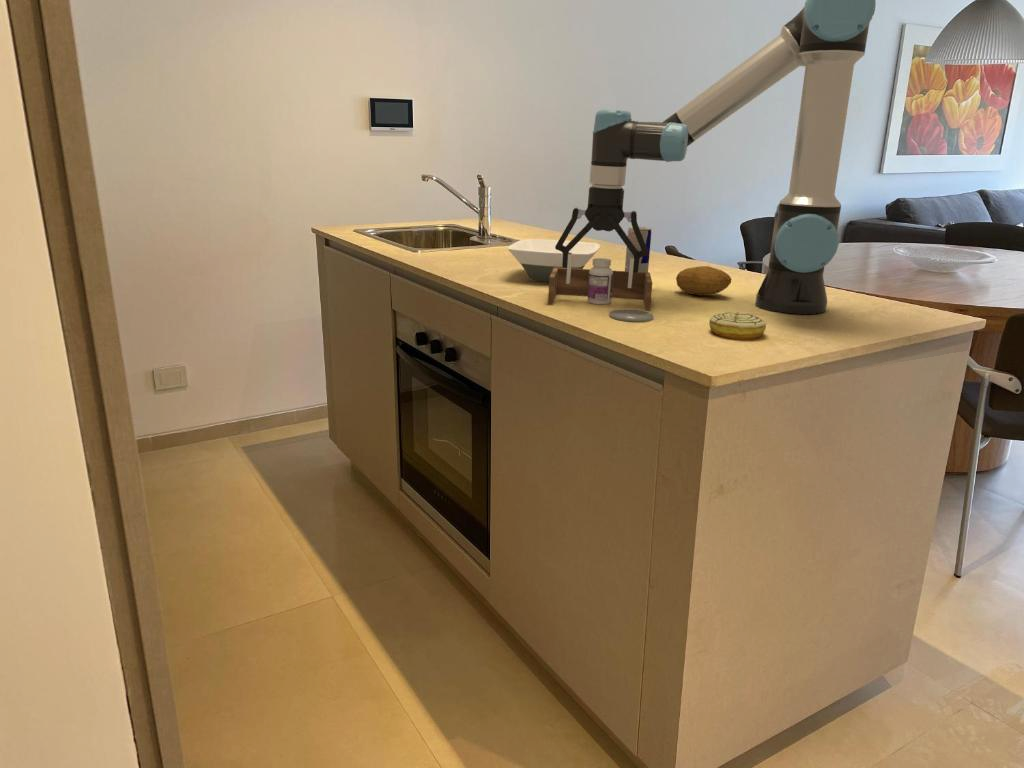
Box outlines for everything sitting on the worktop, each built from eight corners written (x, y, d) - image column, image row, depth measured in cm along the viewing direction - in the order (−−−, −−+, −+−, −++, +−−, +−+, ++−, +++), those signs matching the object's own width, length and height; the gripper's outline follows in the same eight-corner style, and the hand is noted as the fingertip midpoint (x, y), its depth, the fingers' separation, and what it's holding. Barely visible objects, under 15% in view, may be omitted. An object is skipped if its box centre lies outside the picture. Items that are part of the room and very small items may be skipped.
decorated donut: (766, 332, 152) (769, 313, 150) (762, 344, 142) (765, 324, 141) (712, 325, 155) (714, 307, 154) (704, 337, 146) (707, 317, 144)
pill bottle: (595, 298, 176) (598, 256, 173) (615, 302, 173) (618, 259, 170) (582, 302, 172) (585, 258, 169) (602, 305, 169) (605, 261, 166)
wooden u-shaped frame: (552, 292, 181) (553, 267, 179) (647, 298, 178) (649, 272, 176) (547, 304, 168) (549, 277, 166) (649, 310, 165) (652, 283, 164)
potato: (691, 288, 192) (694, 261, 190) (736, 297, 183) (739, 268, 180) (668, 292, 186) (671, 264, 184) (713, 302, 177) (716, 272, 175)
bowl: (501, 283, 190) (502, 249, 188) (522, 268, 212) (523, 237, 209) (589, 290, 186) (591, 255, 183) (601, 274, 207) (604, 243, 204)
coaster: (662, 318, 159) (662, 315, 159) (634, 324, 153) (634, 321, 153) (628, 310, 165) (628, 307, 165) (600, 315, 159) (600, 312, 159)
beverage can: (646, 291, 186) (651, 228, 181) (622, 290, 187) (627, 227, 182) (646, 287, 191) (652, 226, 186) (624, 286, 192) (628, 225, 187)
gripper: (664, 188, 167) (654, 285, 173) (550, 182, 169) (544, 277, 176) (667, 191, 160) (656, 292, 166) (547, 184, 162) (541, 283, 169)
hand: (598, 284), depth 171 cm, fingers open, 13 cm apart
